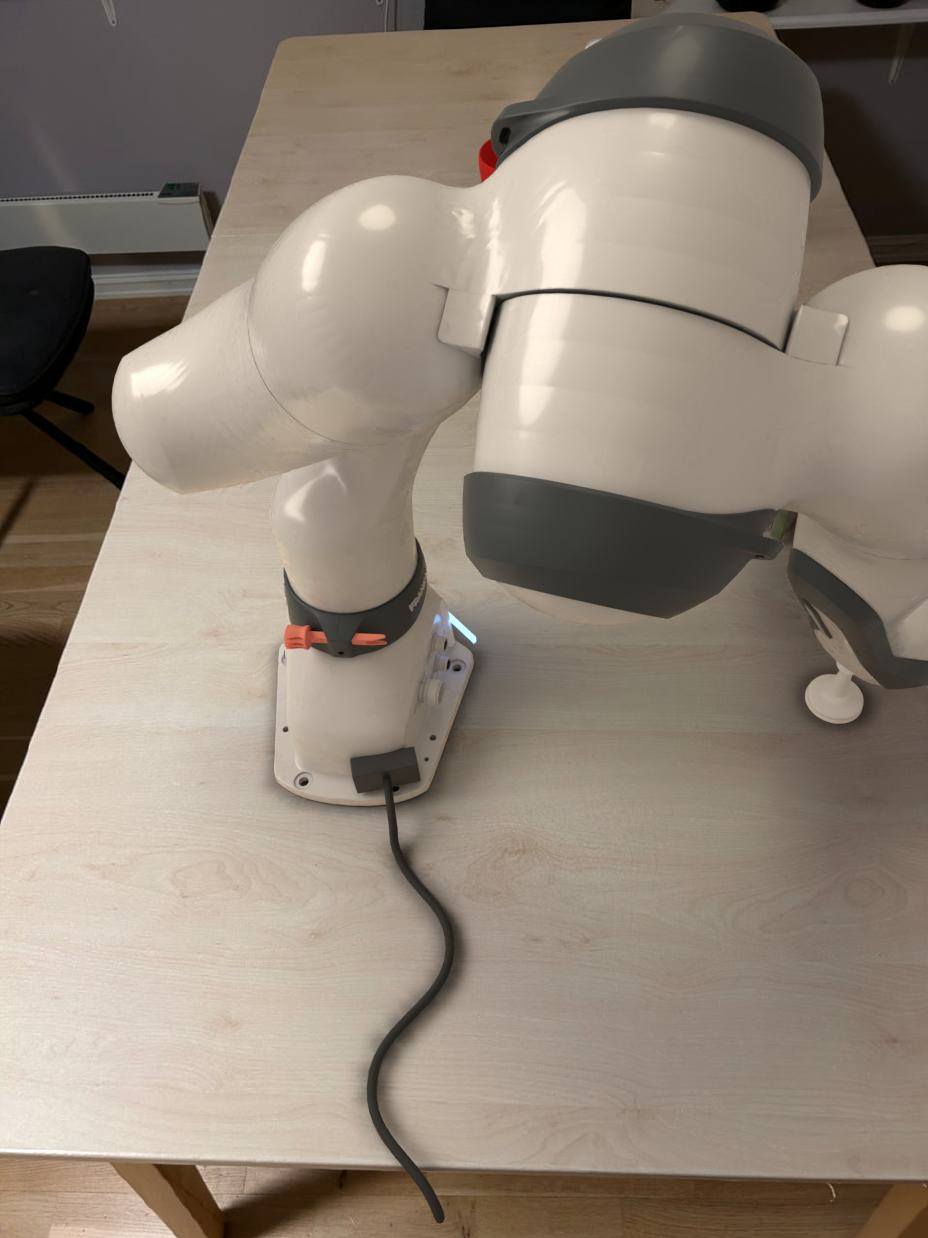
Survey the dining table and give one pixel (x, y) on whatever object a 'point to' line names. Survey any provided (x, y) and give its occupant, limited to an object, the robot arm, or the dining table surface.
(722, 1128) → the dining table surface
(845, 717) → the chess piece
